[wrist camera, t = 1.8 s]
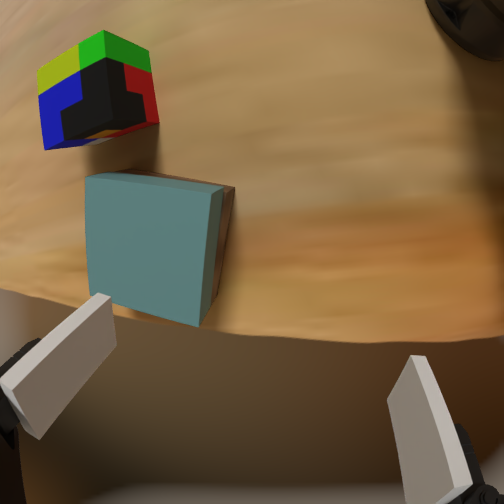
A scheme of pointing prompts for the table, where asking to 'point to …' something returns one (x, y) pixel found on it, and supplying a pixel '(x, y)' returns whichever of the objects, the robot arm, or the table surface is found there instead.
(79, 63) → the puzzle toy
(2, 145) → the table surface
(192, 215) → the top block
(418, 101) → the table surface
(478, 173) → the table surface
